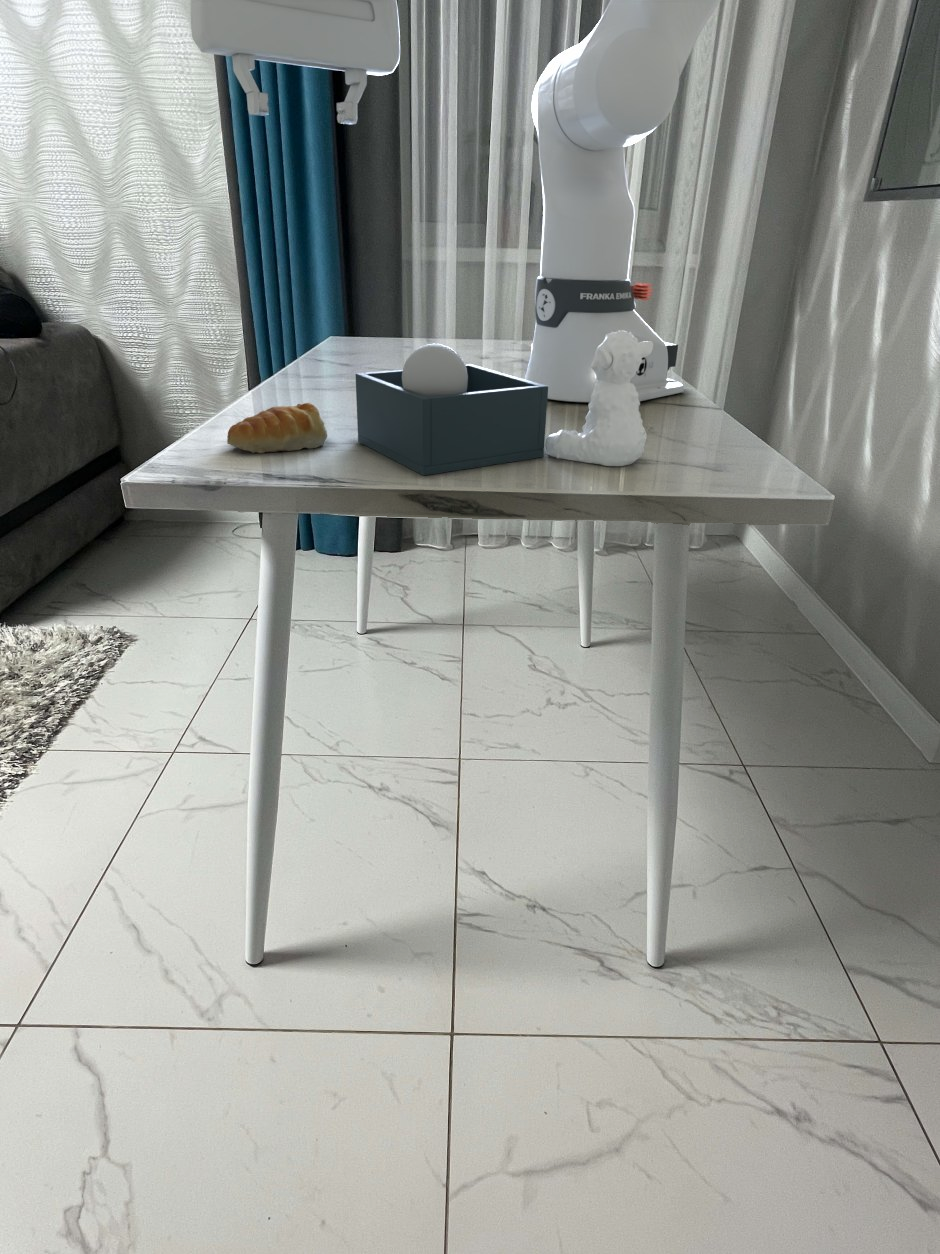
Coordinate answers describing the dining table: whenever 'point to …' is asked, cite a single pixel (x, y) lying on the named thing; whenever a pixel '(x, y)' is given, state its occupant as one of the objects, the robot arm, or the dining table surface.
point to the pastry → (279, 430)
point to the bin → (452, 421)
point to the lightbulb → (435, 371)
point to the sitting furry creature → (609, 408)
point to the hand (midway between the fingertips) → (304, 119)
